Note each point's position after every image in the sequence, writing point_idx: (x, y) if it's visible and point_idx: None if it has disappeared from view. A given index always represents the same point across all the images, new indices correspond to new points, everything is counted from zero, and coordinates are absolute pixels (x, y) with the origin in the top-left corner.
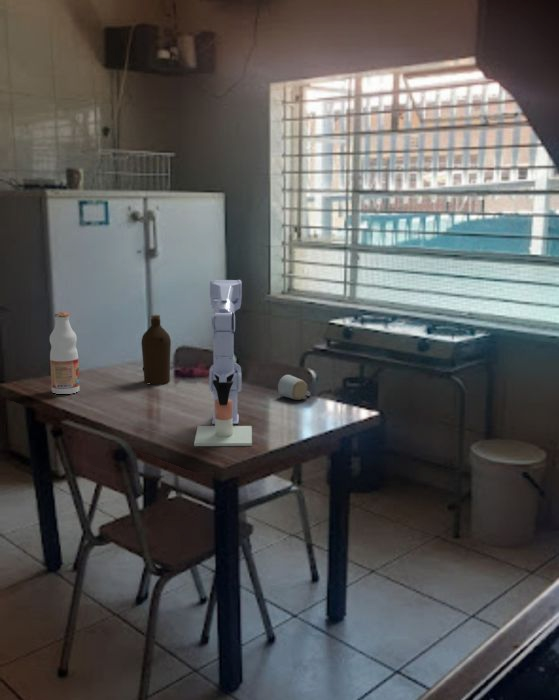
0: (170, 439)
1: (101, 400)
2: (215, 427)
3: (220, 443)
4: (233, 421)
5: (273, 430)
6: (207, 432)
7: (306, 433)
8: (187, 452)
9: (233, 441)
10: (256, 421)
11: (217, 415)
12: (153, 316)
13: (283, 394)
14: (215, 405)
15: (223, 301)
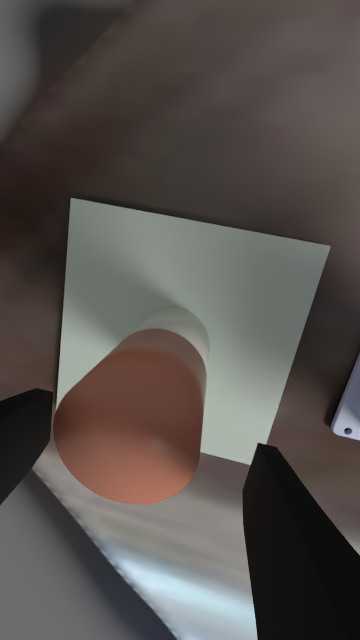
0: (187, 85)
1: None
2: (160, 315)
3: (63, 308)
4: (358, 419)
5: (215, 515)
6: (213, 278)
7: (162, 582)
8: (5, 163)
9: (79, 359)
10: (348, 499)
11: (120, 344)
12: None
13: None
14: (116, 360)
15: None
